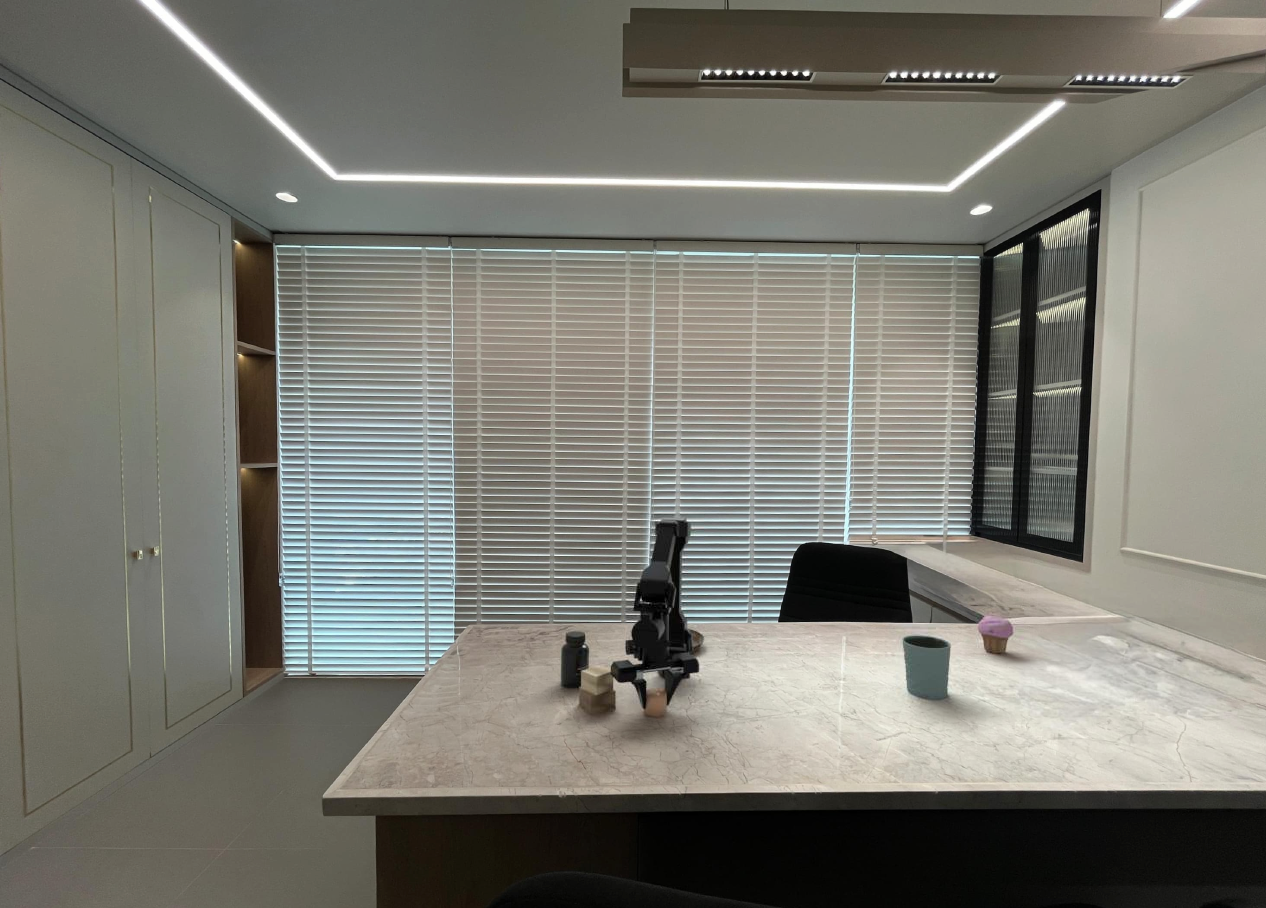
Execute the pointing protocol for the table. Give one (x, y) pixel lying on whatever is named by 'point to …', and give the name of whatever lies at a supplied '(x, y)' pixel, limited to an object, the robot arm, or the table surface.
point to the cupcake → (995, 633)
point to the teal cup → (927, 666)
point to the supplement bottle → (574, 659)
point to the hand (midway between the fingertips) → (655, 706)
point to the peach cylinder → (656, 702)
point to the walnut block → (597, 701)
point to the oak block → (596, 680)
